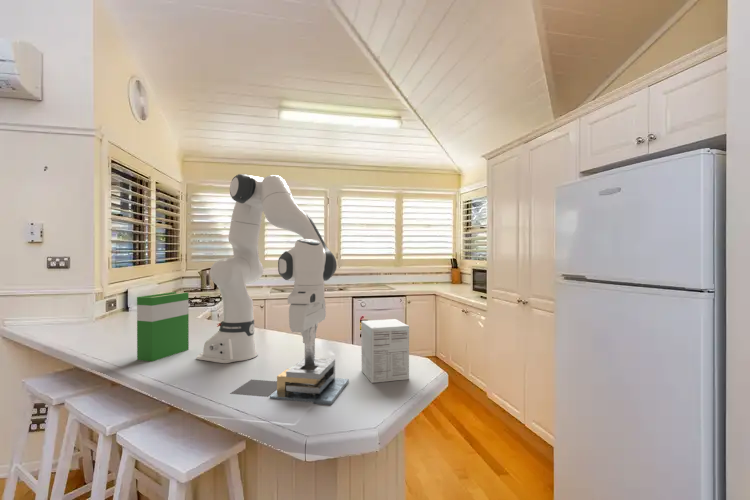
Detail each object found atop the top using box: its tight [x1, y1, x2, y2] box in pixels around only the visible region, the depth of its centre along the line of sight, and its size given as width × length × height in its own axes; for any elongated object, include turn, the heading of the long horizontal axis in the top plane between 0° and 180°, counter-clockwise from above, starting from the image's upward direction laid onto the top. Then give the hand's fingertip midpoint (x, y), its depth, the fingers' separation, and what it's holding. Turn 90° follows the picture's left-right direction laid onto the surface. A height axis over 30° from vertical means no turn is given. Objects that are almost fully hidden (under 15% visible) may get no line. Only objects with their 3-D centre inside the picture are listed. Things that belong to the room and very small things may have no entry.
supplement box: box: [360, 318, 410, 384], centre depth 128 cm, size 13×13×18 cm
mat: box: [229, 379, 277, 398], centre depth 115 cm, size 12×12×1 cm
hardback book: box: [136, 291, 190, 363], centre depth 152 cm, size 18×7×24 cm, turn 162°
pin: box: [304, 325, 316, 366], centre depth 112 cm, size 3×3×14 cm
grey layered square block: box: [269, 357, 350, 406], centre depth 114 cm, size 18×18×8 cm
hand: (309, 341), depth 112 cm, fingers closed on pin, 3 cm apart
